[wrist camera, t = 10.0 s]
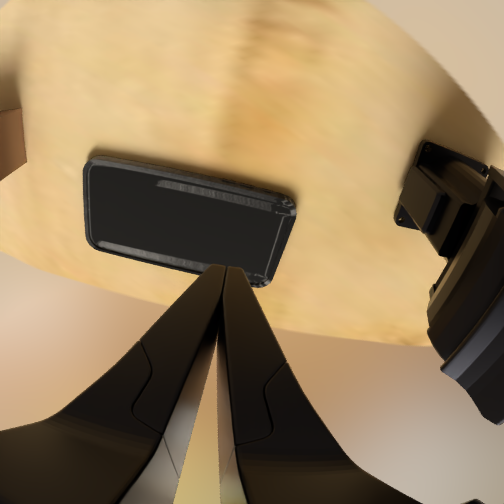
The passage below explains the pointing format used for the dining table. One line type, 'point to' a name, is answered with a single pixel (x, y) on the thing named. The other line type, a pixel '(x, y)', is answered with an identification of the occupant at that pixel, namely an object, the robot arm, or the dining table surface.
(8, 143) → the walnut block
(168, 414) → the robot arm
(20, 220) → the dining table surface
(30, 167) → the dining table surface
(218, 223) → the phone
